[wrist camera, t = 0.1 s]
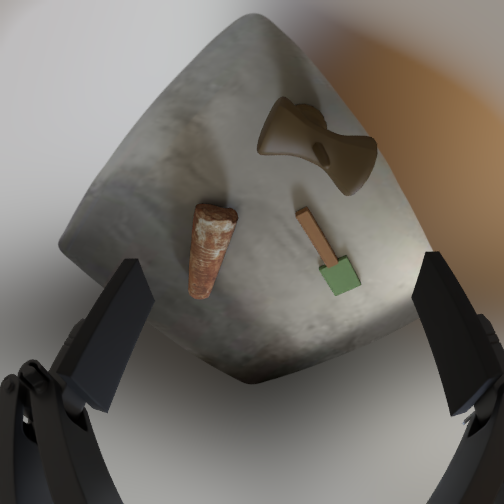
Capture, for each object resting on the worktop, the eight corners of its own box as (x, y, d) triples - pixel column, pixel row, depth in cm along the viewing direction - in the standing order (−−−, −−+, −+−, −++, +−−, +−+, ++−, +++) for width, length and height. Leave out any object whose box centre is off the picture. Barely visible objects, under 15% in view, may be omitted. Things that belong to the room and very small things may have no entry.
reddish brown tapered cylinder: (242, 205, 42) (237, 223, 37) (213, 292, 53) (207, 314, 48) (202, 192, 41) (191, 209, 37) (181, 282, 52) (172, 303, 48)
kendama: (327, 156, 36) (363, 229, 20) (261, 127, 35) (242, 176, 19) (346, 118, 33) (405, 161, 17) (279, 87, 32) (277, 95, 15)
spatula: (285, 217, 42) (286, 221, 41) (316, 201, 40) (317, 205, 39) (334, 293, 50) (335, 298, 49) (360, 282, 48) (361, 287, 47)
